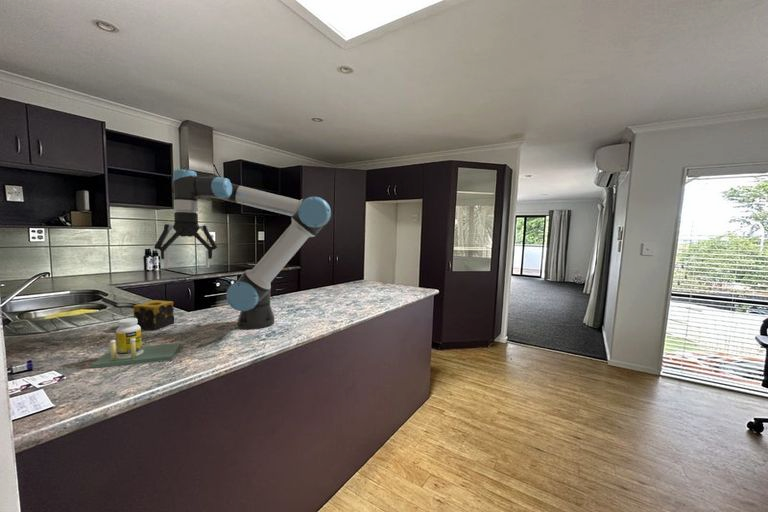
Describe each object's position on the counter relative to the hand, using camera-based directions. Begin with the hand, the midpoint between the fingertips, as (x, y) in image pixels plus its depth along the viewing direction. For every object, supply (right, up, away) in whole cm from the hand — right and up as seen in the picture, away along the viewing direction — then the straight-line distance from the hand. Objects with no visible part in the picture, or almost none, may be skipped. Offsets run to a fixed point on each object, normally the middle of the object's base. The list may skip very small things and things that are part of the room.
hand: (187, 267), depth 118 cm
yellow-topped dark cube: (-21, -26, +12) cm, 35 cm away
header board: (-4, -28, -18) cm, 34 cm away
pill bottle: (-6, -27, -19) cm, 34 cm away
